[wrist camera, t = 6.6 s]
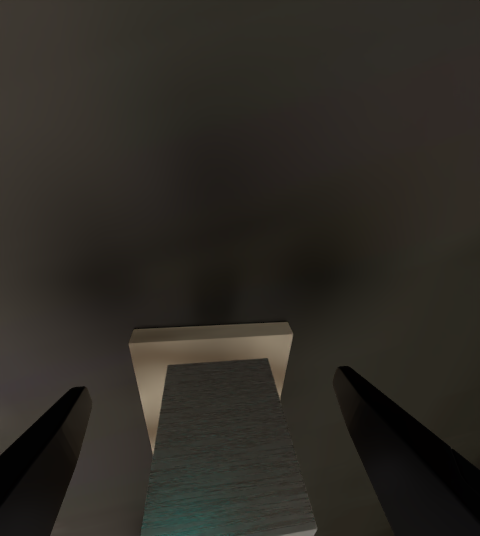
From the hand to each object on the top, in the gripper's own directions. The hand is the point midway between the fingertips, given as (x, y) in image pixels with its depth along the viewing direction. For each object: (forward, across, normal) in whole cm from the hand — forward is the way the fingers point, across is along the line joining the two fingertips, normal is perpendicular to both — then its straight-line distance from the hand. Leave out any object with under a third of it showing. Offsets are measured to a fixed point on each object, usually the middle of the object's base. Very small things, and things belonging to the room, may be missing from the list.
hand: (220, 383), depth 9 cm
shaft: (+1, 0, +7) cm, 7 cm away
